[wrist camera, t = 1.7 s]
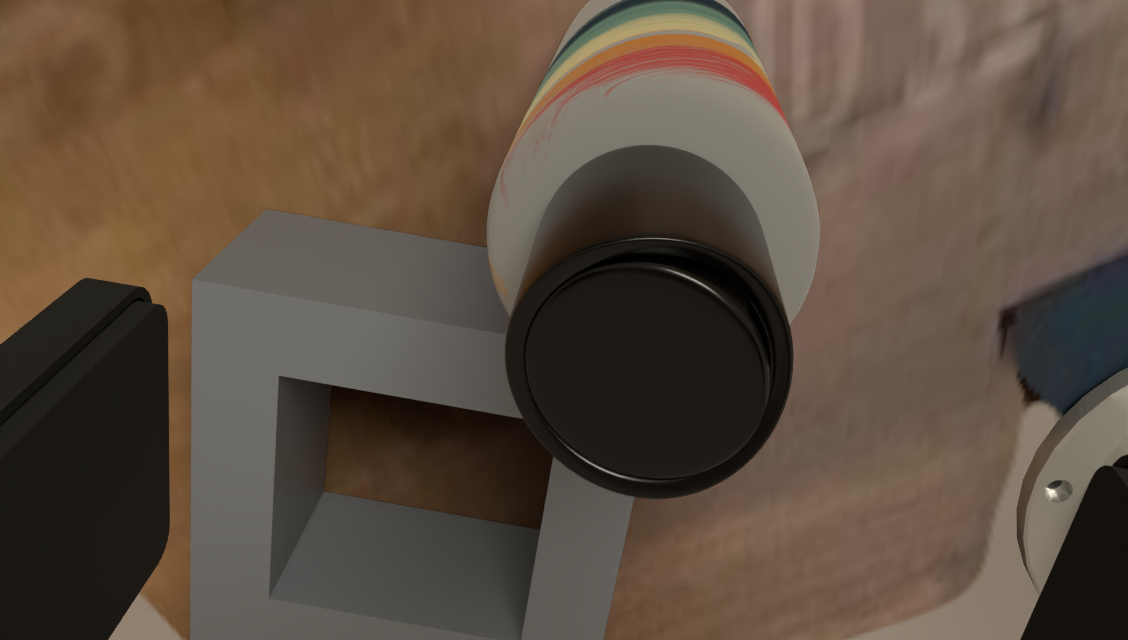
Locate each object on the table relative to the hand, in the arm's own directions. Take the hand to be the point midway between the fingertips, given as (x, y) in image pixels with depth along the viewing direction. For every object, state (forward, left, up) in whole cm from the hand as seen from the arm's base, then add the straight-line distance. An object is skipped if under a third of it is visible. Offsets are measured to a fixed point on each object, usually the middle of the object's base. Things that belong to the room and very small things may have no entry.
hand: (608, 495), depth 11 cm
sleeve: (+5, +13, -23) cm, 27 cm away
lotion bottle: (0, 0, -23) cm, 23 cm away
